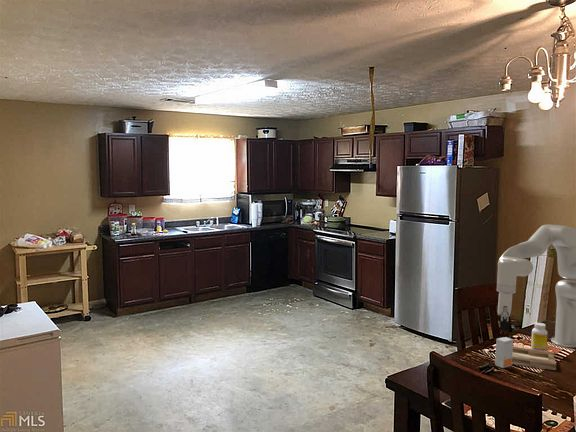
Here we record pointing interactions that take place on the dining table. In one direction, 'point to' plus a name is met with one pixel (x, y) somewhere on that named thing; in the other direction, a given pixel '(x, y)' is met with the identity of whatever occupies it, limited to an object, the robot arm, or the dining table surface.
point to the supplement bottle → (539, 337)
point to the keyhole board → (533, 358)
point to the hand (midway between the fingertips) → (503, 327)
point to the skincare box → (504, 352)
